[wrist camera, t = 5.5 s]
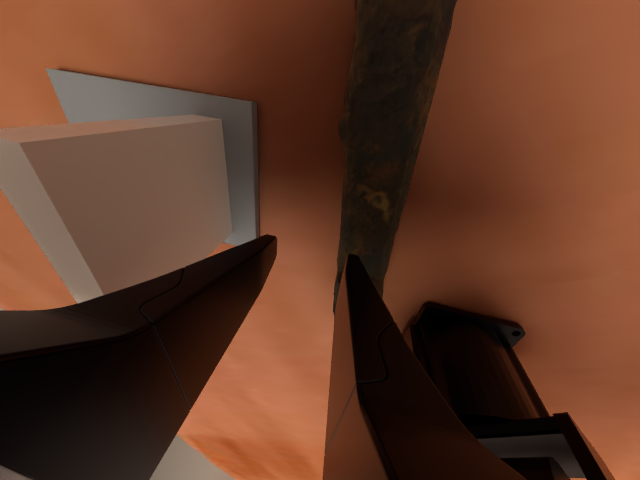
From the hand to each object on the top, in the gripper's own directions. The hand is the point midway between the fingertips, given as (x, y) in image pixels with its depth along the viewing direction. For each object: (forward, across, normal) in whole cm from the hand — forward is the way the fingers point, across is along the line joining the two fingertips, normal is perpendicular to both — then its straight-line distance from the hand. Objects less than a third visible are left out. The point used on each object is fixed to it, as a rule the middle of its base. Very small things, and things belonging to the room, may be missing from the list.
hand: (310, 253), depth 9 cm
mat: (+6, +11, 0) cm, 12 cm away
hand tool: (+6, -3, -1) cm, 7 cm away
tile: (+5, +7, 0) cm, 9 cm away
